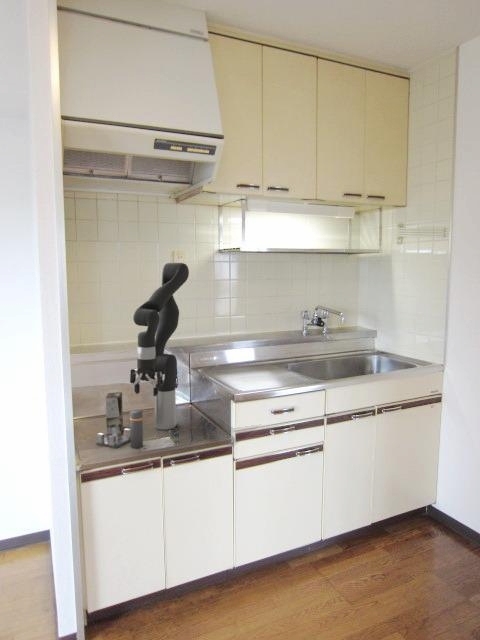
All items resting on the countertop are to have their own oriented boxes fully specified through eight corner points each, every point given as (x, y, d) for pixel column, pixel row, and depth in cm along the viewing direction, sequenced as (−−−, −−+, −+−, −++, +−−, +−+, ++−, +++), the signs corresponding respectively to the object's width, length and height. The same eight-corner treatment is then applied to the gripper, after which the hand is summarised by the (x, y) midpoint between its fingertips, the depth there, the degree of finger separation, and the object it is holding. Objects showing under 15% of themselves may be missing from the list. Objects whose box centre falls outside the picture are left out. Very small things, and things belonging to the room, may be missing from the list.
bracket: (113, 436, 193) (113, 425, 192) (132, 439, 189) (132, 429, 188) (95, 444, 183) (95, 433, 183) (115, 448, 179) (115, 437, 179)
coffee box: (121, 433, 196) (120, 397, 194) (106, 434, 195) (105, 397, 193) (123, 426, 205) (122, 391, 203) (108, 427, 204) (107, 392, 202)
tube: (135, 443, 185) (135, 409, 184) (145, 445, 183) (144, 411, 182) (127, 447, 181) (127, 413, 179) (137, 449, 179) (137, 414, 177)
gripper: (166, 356, 190) (165, 394, 193) (136, 353, 195) (136, 390, 197) (157, 360, 183) (156, 399, 186) (126, 356, 188) (126, 394, 190)
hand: (146, 394), depth 191 cm, fingers open, 8 cm apart
